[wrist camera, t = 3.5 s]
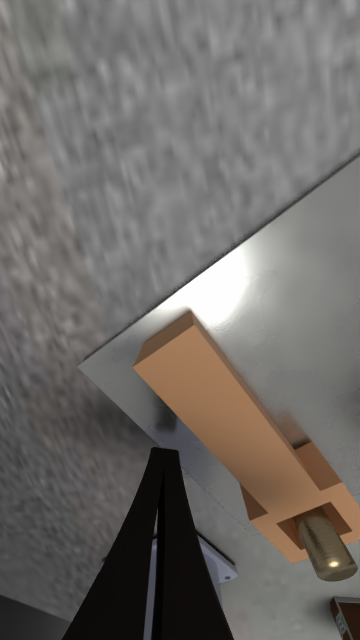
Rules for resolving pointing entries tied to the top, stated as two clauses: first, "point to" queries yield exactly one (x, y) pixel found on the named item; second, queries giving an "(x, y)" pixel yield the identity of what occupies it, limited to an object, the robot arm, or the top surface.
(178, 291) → the base plate
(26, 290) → the top surface
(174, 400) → the link
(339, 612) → the food container
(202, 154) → the top surface
